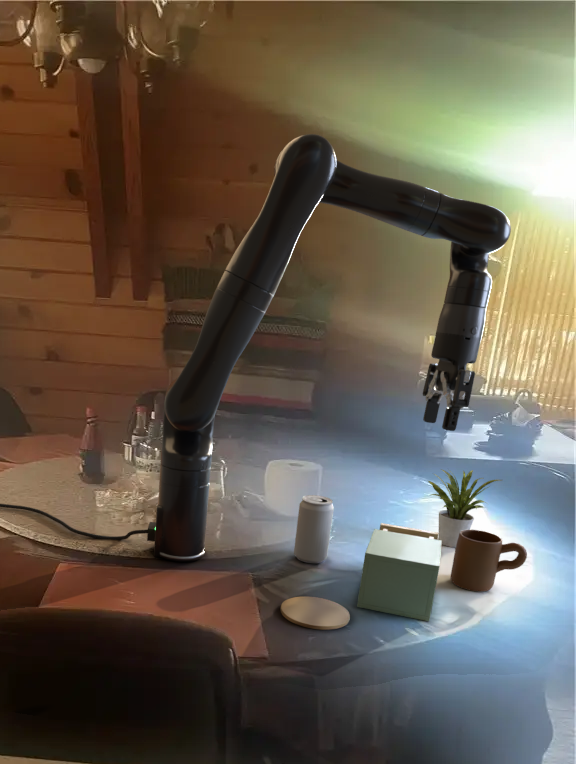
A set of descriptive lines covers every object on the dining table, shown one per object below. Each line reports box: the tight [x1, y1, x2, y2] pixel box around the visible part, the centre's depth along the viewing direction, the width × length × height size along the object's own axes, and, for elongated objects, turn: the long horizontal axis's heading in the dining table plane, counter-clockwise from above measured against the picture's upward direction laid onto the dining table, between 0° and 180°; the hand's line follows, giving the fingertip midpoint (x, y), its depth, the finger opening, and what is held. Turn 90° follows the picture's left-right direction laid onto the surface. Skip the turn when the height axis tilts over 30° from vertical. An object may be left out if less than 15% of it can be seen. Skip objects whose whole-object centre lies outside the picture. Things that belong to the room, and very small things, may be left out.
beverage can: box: [293, 494, 335, 564], centre depth 143 cm, size 6×6×12 cm
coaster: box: [280, 596, 351, 631], centre depth 121 cm, size 11×11×1 cm
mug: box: [450, 529, 528, 592], centre depth 137 cm, size 12×8×9 cm, turn 71°
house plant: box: [427, 468, 502, 548], centre depth 158 cm, size 14×14×16 cm
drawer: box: [379, 522, 439, 540], centre depth 136 cm, size 14×10×8 cm
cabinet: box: [356, 528, 443, 622], centre depth 128 cm, size 14×12×10 cm
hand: (438, 426), depth 134 cm, fingers open, 8 cm apart
